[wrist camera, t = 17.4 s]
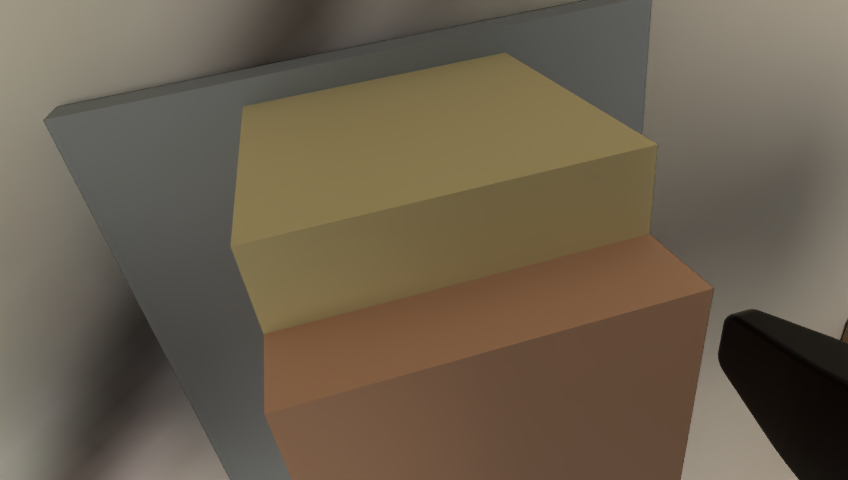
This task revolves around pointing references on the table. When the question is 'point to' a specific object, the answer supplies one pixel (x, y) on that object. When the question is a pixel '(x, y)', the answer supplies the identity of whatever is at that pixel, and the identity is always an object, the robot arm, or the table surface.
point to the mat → (217, 171)
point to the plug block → (464, 282)
